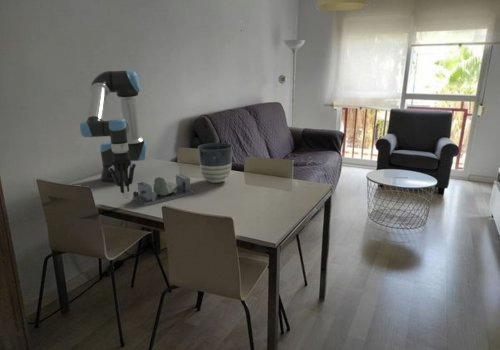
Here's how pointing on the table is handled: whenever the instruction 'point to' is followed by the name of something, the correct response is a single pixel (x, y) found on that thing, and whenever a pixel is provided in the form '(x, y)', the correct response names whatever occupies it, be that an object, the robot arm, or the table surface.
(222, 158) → the planter
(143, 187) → the jaw
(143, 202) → the vise base
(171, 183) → the decorative stone
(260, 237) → the table surface
